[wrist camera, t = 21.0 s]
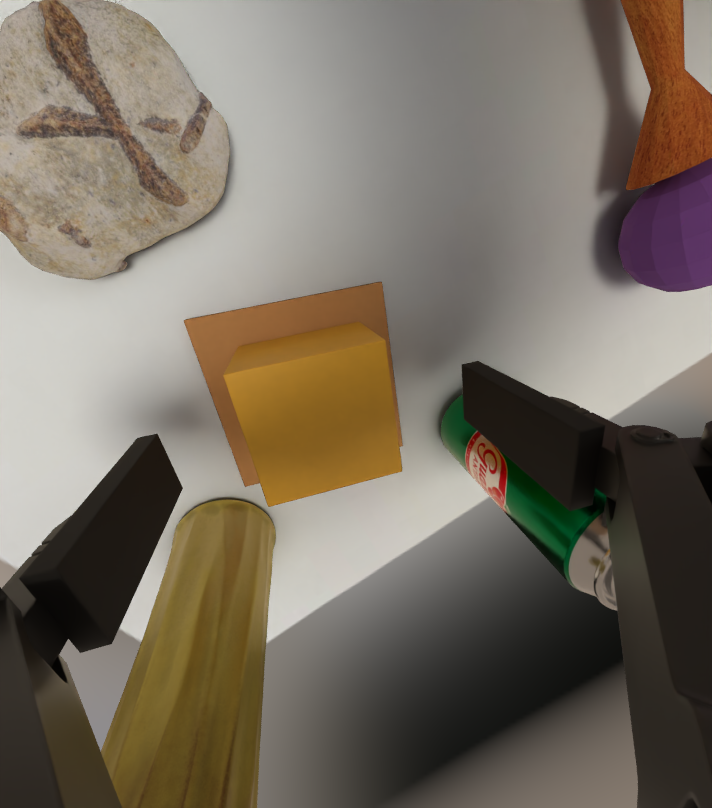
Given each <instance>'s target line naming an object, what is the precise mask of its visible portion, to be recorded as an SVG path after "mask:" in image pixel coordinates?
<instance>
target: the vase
mask: <svg viewBox="0 0 712 808" xmlns="http://www.w3.org/2000/svg"><path fill="white" fill-rule="evenodd" d="M275 539H276V534H275V528H274V525H273V523H272V521H271V519H270V518H269V516H268V515H267V514H266V513H265V512H264V511H262V510H261V509H260V508H258V507H256V506H254V505H252V504H250V503H247V502H244V501H239V500H231V499H224V500H216V501H211V502H208V503H204V504H202V505H200V506H198V507H196V508H194V509H193V510H192V511H190V512H189V513H188V514H187V515H186V516H185V517H184V518H183V519H182V520H181V521H180V522H179V524H178V525H177V527H176V530H175V533H174V538H173V543H172V549H171V553H170V557H169V560H168V564H167V567H166V570H165V573H164V576H163V579H162V583H161V586H160V589H159V592H158V595H157V597H156V600H155V603H154V606H153V609H152V612H151V615H150V619H149V622H148V625H147V628H146V631H145V634H144V637H143V640H142V642H141V645H140V648H139V650H138V653H137V657H136V659H135V661H134V664H133V667H132V670H131V673H130V675H129V678H128V681H127V683H126V686H125V689H124V692H123V694H122V697H121V700H120V702H119V705H118V707H117V710H116V712H115V715H114V718H113V721H112V723H111V726H110V729H109V731H108V734H107V737H106V740H105V742H104V745H103V748H102V750H101V754H102V757H103V759H104V762H105V765H106V767H107V770H108V772H109V775H110V778H111V780H112V783H113V786H114V788H115V791H116V793H117V796H118V799H119V801H120V804H121V806H122V808H257V795H258V772H259V750H260V736H261V717H262V699H263V682H264V664H265V662H264V661H265V649H266V637H267V622H268V606H269V594H270V585H271V574H272V557H273V549H274V545H275Z"/></svg>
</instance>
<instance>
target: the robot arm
mask: <svg viewBox="0 0 712 808" xmlns="http://www.w3.org/2000/svg"><path fill="white" fill-rule="evenodd" d="M462 383H463V410H464V420H466V421H467V422H468V423H469V424H470V425H471V426H472V427H474V428H475V429H476V430H477V431H478V432H479V433H480V434H482V435H483V436H484V437H485V438H486V439H487V440H489V441H490V442H491V443H492V444H493V445H494V446H495V447H497V448H498V449H499V450H500V451H501V452H502V453H503V454H505V455H506V456H507V457H508V458H509V459H510V460H511V461H513V462H514V463H515V464H516V465H517V466H518V467H520V468H521V469H522V470H523V471H524V472H525V473H526V474H528V475H529V476H530V477H531V478H532V479H533V480H534V481H536V482H537V483H538V484H539V485H540V486H541V487H543V488H544V489H545V490H546V491H547V492H548V493H549V494H551V495H552V496H553V497H554V498H555V499H556V500H557V501H559V502H560V503H561V504H562V505H563V506H564V507H566V508H567V509H568V510H569V511H573V510H576V509H580V508H583V507H587V506H590V505H593V500H594V494H595V488H596V489H598V490H599V491H600V492H602V493H603V494H604V495H606V502H605V507H604V513H603V518H602V524H601V526H605V527H606V525H607V529H608V537H609V545H610V553H611V562H612V570H613V578H614V586H615V594H616V602H617V610H618V618H619V627H620V635H621V643H622V651H623V659H624V667H625V674H626V684H627V692H628V700H629V708H630V715H631V724H632V732H633V740H634V748H635V757H636V765H637V775H638V800H637V801H638V802H637V808H712V421H710V422H708V423H706V425H705V428H704V431H703V435H702V437H695V438H678V437H677V436H676V435H674V434H672V433H670V432H669V431H667V430H663V429H660V428H657V427H651V426H645V425H632V426H627V427H621V426H619V425H617V424H615V423H613V422H610V421H609V420H606V419H604V418H602V417H600V416H598V415H596V414H594V413H590V412H589V411H588V410H586V409H584V408H580V407H579V406H578V405H576V404H574V403H571V402H569V401H567V400H563V399H559V398H555V397H548V396H546V395H544V394H542V393H540V392H538V391H537V390H535V389H533V388H531V387H529V386H527V385H525V384H523V383H521V382H519V381H517V380H515V379H513V378H511V377H509V376H507V375H505V374H503V373H501V372H499V371H497V370H495V369H493V368H491V367H489V366H487V365H485V364H483V363H481V362H479V361H475V362H471V363H466V364H462ZM182 489H183V487H182V485H181V483H180V481H179V479H178V477H177V475H176V473H175V470H174V468H173V466H172V464H171V462H170V460H169V458H168V455H167V453H166V451H165V449H164V447H163V445H162V443H161V440H160V438H159V436H158V434H153V435H149V436H144V437H140V438H137V439H136V440H135V442H134V443H133V444H132V445H131V446H130V448H129V449H128V450H127V451H126V452H125V453H124V455H123V456H122V457H121V458H120V459H119V461H118V462H117V463H116V464H115V465H114V466H113V468H112V469H111V470H110V471H109V472H108V474H107V475H106V476H105V477H104V478H103V479H102V481H101V482H100V483H99V484H98V485H97V487H96V488H95V489H94V490H93V491H92V492H91V494H90V495H89V496H88V497H87V498H86V500H85V501H84V502H83V503H82V504H81V505H80V507H79V508H78V509H77V510H76V511H75V513H74V514H73V515H72V516H70V517H69V518H67V519H66V520H65V521H63V522H62V523H61V524H60V525H58V526H57V527H56V528H55V529H53V530H52V532H51V533H50V534H49V535H48V536H47V537H46V538H45V540H44V541H43V542H42V545H40V546H38V548H37V549H36V550H35V551H34V552H33V553H32V557H29V558H28V559H27V560H26V561H25V563H24V564H23V565H22V566H21V567H20V568H19V569H18V571H17V572H16V573H15V574H14V575H13V576H12V578H11V579H10V580H9V581H8V582H7V583H6V584H5V586H4V587H3V588H2V589H1V588H0V808H122V806H121V804H120V801H119V799H118V796H117V793H116V791H115V788H114V786H113V783H112V780H111V778H110V775H109V772H108V770H107V767H106V765H105V762H104V759H103V757H102V754H101V752H100V749H99V746H98V744H97V742H96V739H95V736H94V734H93V731H92V728H91V726H90V723H89V720H88V718H87V715H86V713H85V710H84V708H83V705H82V702H81V700H80V697H79V694H78V692H77V689H76V687H75V684H74V682H73V679H72V677H71V674H70V671H69V668H68V666H67V663H66V662H65V661H64V660H63V658H62V657H61V656H60V655H59V654H60V652H61V650H62V649H63V647H64V645H65V643H66V641H67V640H68V639H69V640H70V641H71V642H72V643H73V645H74V646H75V647H76V648H77V649H78V650H79V652H80V653H81V652H85V651H88V650H91V649H95V648H99V647H102V646H106V645H109V644H112V642H113V640H114V638H115V635H116V633H117V631H118V629H119V627H120V625H121V623H122V620H123V618H124V616H125V614H126V612H127V609H128V607H129V605H130V603H131V601H132V598H133V596H134V594H135V592H136V590H137V587H138V585H139V583H140V581H141V579H142V577H143V574H144V572H145V570H146V568H147V566H148V563H149V561H150V559H151V557H152V555H153V552H154V550H155V548H156V546H157V544H158V541H159V539H160V537H161V535H162V533H163V530H164V528H165V526H166V524H167V522H168V520H169V517H170V515H171V513H172V511H173V509H174V506H175V504H176V502H177V500H178V498H179V495H180V493H181V491H182Z"/></svg>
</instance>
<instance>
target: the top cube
mask: <svg viewBox="0 0 712 808" xmlns="http://www.w3.org/2000/svg"><path fill="white" fill-rule="evenodd" d="M223 377H224V380H225V382H226V385H227V388H228V391H229V394H230V397H231V400H232V403H233V406H234V409H235V412H236V414H237V417H238V420H239V423H240V426H241V429H242V432H243V435H244V438H245V441H246V444H247V446H248V449H249V452H250V455H251V458H252V461H253V464H254V467H255V470H256V473H257V475H258V478H259V481H260V484H261V487H262V490H263V493H264V496H265V499H266V502H267V505H268V507H270V506H274V505H278V504H282V503H285V502H289V501H293V500H297V499H300V498H304V497H308V496H312V495H315V494H319V493H323V492H326V491H330V490H334V489H338V488H341V487H345V486H349V485H353V484H356V483H360V482H364V481H368V480H371V479H375V478H379V477H383V476H386V475H390V474H394V473H398V472H401V471H402V464H401V456H400V448H399V441H398V433H397V425H396V417H395V410H394V402H393V394H392V387H391V379H390V371H389V364H388V356H387V348H386V341H385V340H384V339H383V338H381V337H380V336H379V335H377V334H376V333H374V332H373V331H372V330H370V329H369V328H367V327H366V326H364V325H363V324H362V323H360V322H354V323H349V324H344V325H339V326H334V327H330V328H325V329H320V330H315V331H310V332H305V333H300V334H296V335H291V336H286V337H281V338H276V339H271V340H267V341H262V342H257V343H252V344H247V345H242V346H238V348H237V350H236V352H235V354H234V355H233V357H232V359H231V361H230V363H229V365H228V367H227V369H226V371H225V373H224V375H223Z"/></svg>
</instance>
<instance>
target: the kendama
mask: <svg viewBox="0 0 712 808" xmlns="http://www.w3.org/2000/svg"><path fill="white" fill-rule="evenodd" d="M621 3H622V6H623V9H624V12H625V15H626V18H627V21H628V23H629V26H630V29H631V32H632V35H633V38H634V41H635V44H636V47H637V50H638V52H639V55H640V58H641V61H642V64H643V67H644V70H645V73H646V76H647V79H648V82H649V84H650V87H651V92H650V96H649V99H648V103H647V107H646V111H645V115H644V119H643V123H642V127H641V130H640V134H639V138H638V142H637V146H636V150H635V154H634V158H633V162H632V165H631V169H630V173H629V177H628V181H627V185H626V190H634V189H638V188H641V187H644V186H648V185H651V184H654V183H655V184H654V185H653V186H651V187H650V188H649V189H647V190H646V191H645V192H644V193H643V194H642V195H641V196H640V197H639V198H638V199H637V201H636V202H635V204H634V205H633V207H632V208H631V210H630V211H629V213H628V214H627V215H626V217H625V218H624V220H623V224H622V228H621V233H620V237H619V241H618V249H619V253H620V257H621V261H622V265H623V269H624V270H625V271H626V272H627V273H629V274H630V275H631V276H632V277H633V278H634V279H635V280H636V281H637V282H638V283H640V284H643V285H646V286H649V287H653V288H656V289H660V290H663V291H666V292H682V291H688V290H694V289H699V288H703V287H706V286H710V285H712V95H711V94H710V93H709V92H708V91H707V90H706V89H705V88H704V87H703V86H702V85H701V84H700V83H699V82H698V81H697V80H696V79H695V78H693V77H692V76H691V75H690V74H689V73H688V72H687V71H686V70H685V66H684V15H683V0H621Z"/></svg>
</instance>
